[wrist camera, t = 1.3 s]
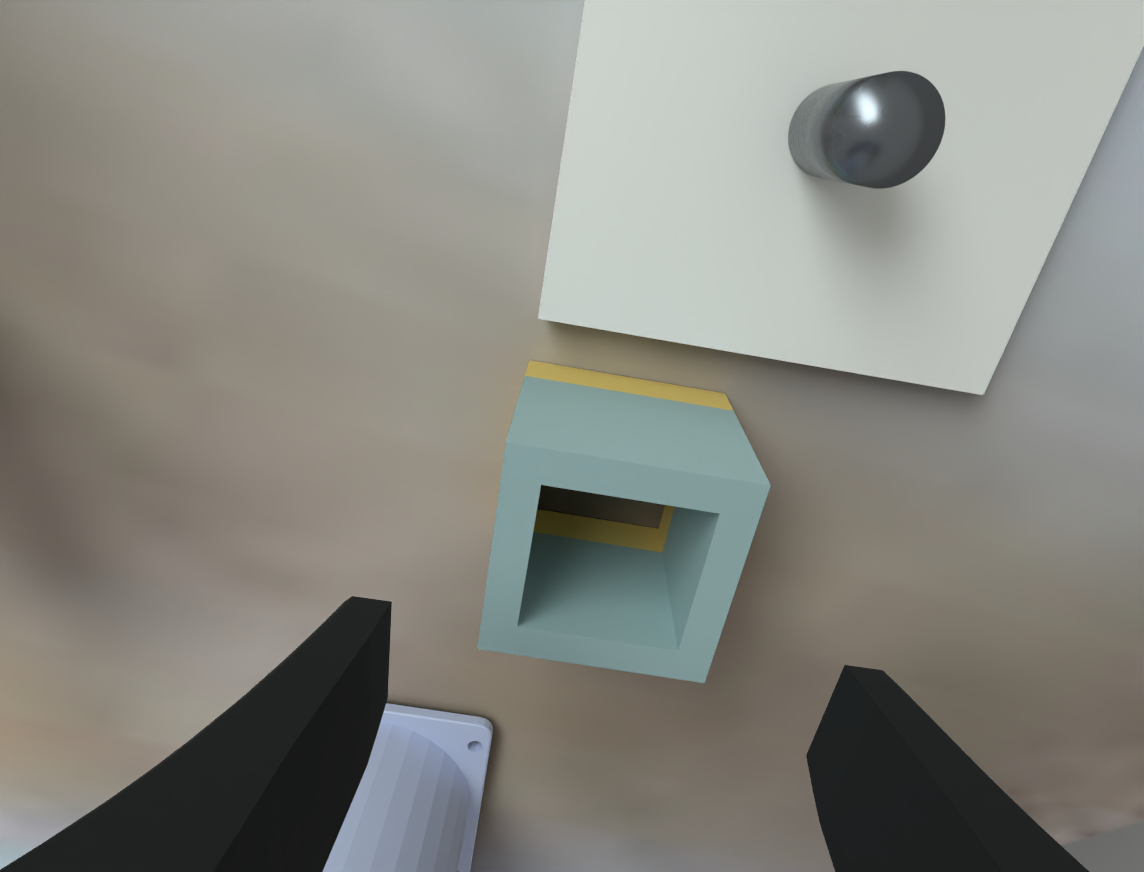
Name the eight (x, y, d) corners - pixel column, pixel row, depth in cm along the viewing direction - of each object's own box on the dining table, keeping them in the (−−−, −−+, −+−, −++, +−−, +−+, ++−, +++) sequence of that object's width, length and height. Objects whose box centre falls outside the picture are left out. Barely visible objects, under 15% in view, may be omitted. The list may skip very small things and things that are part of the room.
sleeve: (679, 555, 20) (704, 683, 15) (505, 527, 19) (477, 649, 15) (724, 393, 17) (770, 485, 13) (529, 360, 17) (505, 441, 13)
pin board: (962, 381, 17) (1062, 448, 13) (540, 308, 17) (525, 357, 13) (1173, -96, 13) (1399, -185, 9) (618, -210, 12) (627, -350, 9)
